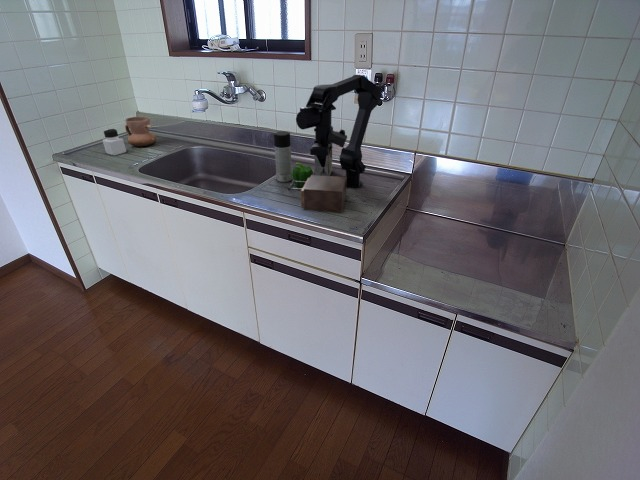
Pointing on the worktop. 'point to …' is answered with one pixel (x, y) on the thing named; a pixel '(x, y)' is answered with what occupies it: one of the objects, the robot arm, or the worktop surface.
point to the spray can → (283, 156)
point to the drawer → (299, 189)
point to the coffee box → (328, 166)
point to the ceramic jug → (139, 131)
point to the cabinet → (325, 193)
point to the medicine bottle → (113, 142)
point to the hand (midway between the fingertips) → (323, 166)
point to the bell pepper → (301, 174)
